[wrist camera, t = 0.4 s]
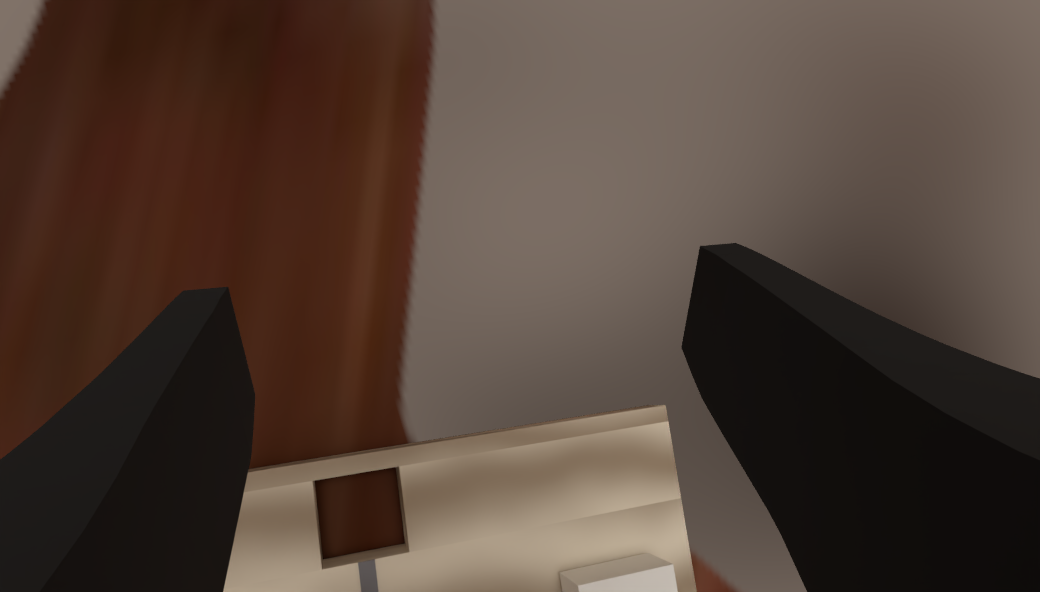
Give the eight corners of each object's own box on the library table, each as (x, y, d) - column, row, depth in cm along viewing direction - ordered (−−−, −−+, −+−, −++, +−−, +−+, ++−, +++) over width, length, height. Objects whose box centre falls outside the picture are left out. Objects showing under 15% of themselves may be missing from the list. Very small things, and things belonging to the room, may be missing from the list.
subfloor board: (684, 634, 41) (706, 648, 38) (97, 783, 33) (77, 814, 31) (647, 405, 42) (666, 405, 40) (77, 496, 35) (58, 503, 32)
